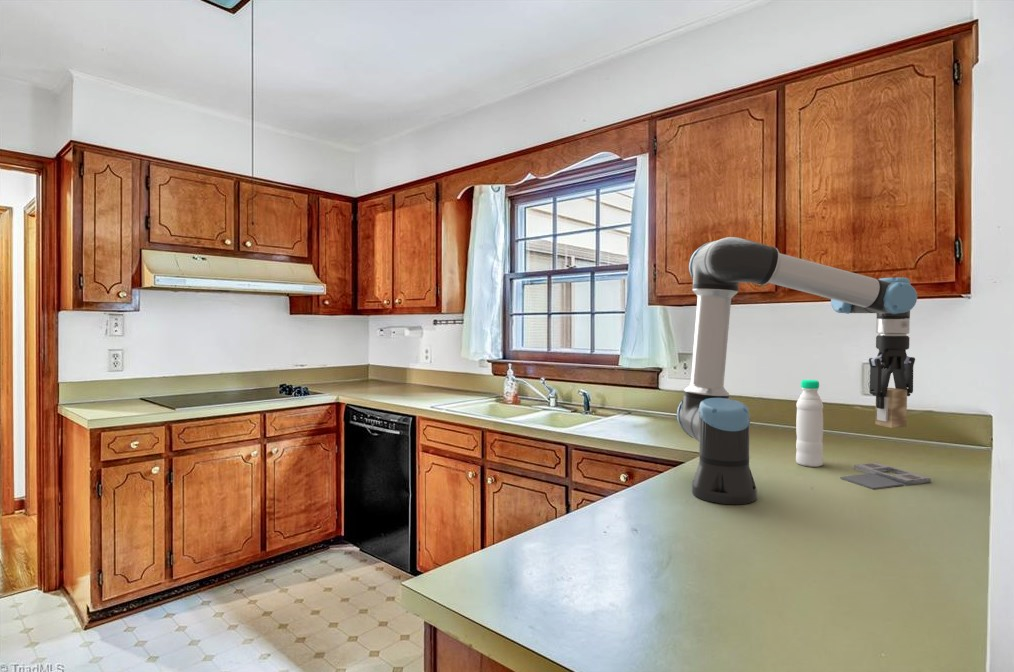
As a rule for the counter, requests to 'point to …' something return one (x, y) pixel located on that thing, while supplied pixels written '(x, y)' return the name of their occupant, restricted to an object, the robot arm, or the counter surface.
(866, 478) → the mat
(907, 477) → the plate with rectangular hole
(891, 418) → the peg
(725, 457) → the robot arm
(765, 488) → the counter surface
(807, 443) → the white bottle
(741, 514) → the counter surface
